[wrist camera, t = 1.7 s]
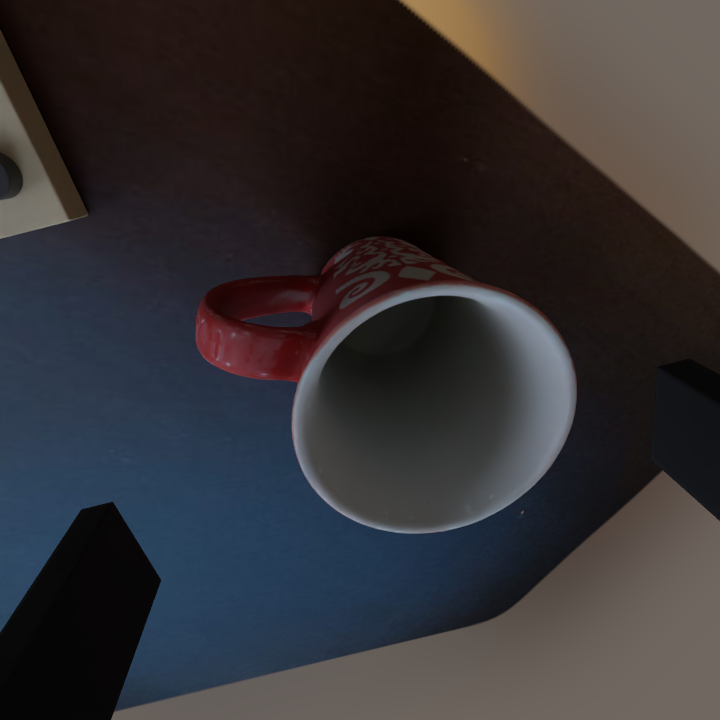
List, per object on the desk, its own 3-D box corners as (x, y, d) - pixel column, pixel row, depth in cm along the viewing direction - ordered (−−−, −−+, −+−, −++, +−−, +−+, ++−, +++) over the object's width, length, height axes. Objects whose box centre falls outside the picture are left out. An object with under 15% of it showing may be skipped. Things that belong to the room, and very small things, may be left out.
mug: (482, 250, 25) (638, 340, 13) (419, 384, 28) (496, 557, 16) (263, 165, 22) (201, 179, 10) (221, 326, 26) (136, 481, 13)
